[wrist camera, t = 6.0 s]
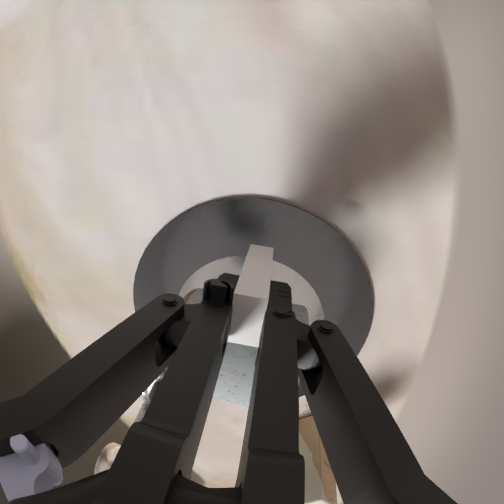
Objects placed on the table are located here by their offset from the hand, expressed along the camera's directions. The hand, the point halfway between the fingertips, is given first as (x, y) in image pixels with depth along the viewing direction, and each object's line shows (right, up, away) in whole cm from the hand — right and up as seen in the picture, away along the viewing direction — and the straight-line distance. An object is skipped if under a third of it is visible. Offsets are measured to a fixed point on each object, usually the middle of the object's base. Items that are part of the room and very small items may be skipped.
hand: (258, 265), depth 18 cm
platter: (-1, -5, +3) cm, 6 cm away
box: (+6, -19, +8) cm, 22 cm away
